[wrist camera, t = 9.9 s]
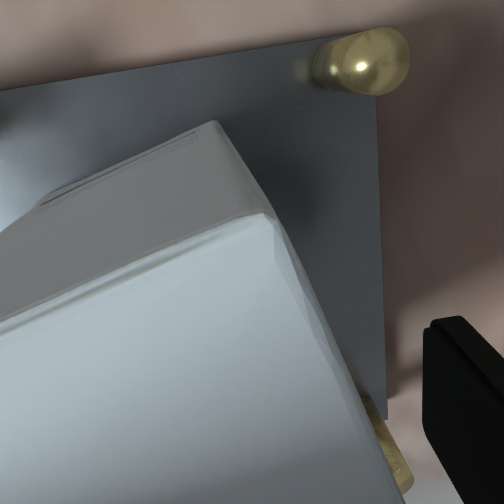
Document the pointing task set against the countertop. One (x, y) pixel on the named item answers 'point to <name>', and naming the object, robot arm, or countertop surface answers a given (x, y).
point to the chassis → (246, 162)
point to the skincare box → (173, 347)
